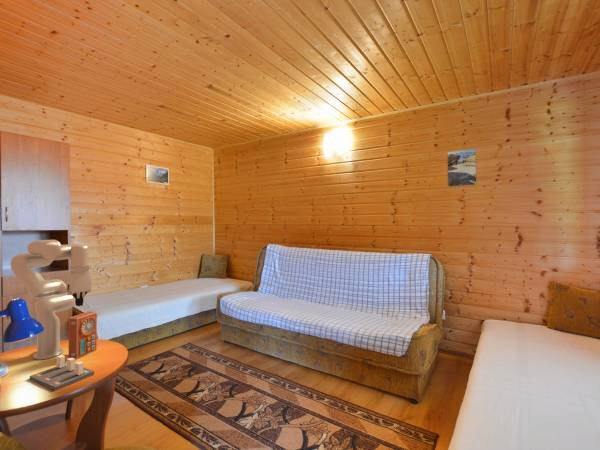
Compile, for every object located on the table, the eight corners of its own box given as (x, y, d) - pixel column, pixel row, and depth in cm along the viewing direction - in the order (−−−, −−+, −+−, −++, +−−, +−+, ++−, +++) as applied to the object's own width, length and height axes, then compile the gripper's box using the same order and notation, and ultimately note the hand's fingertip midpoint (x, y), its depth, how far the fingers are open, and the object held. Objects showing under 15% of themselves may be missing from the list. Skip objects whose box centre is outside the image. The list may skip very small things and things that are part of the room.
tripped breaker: (66, 369, 147) (66, 359, 147) (71, 367, 149) (71, 357, 149) (70, 371, 145) (70, 360, 145) (75, 369, 147) (75, 358, 147)
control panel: (99, 349, 175) (75, 360, 161) (89, 348, 177) (64, 359, 162) (100, 311, 175) (76, 319, 161) (89, 310, 177) (64, 318, 162)
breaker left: (56, 366, 150) (56, 356, 150) (61, 365, 151) (61, 354, 151) (60, 368, 148) (60, 357, 148) (64, 366, 150) (64, 356, 150)
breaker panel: (29, 379, 141) (29, 375, 141) (68, 365, 156) (68, 361, 156) (55, 390, 132) (55, 386, 132) (94, 374, 146) (94, 371, 146)
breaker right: (74, 373, 143) (74, 362, 143) (79, 371, 145) (79, 361, 145) (78, 375, 142) (78, 364, 142) (83, 373, 144) (83, 362, 143)
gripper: (90, 267, 167) (90, 301, 167) (58, 270, 153) (58, 308, 153) (99, 268, 163) (98, 303, 163) (67, 272, 150) (67, 310, 150)
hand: (79, 305), depth 158 cm, fingers closed
